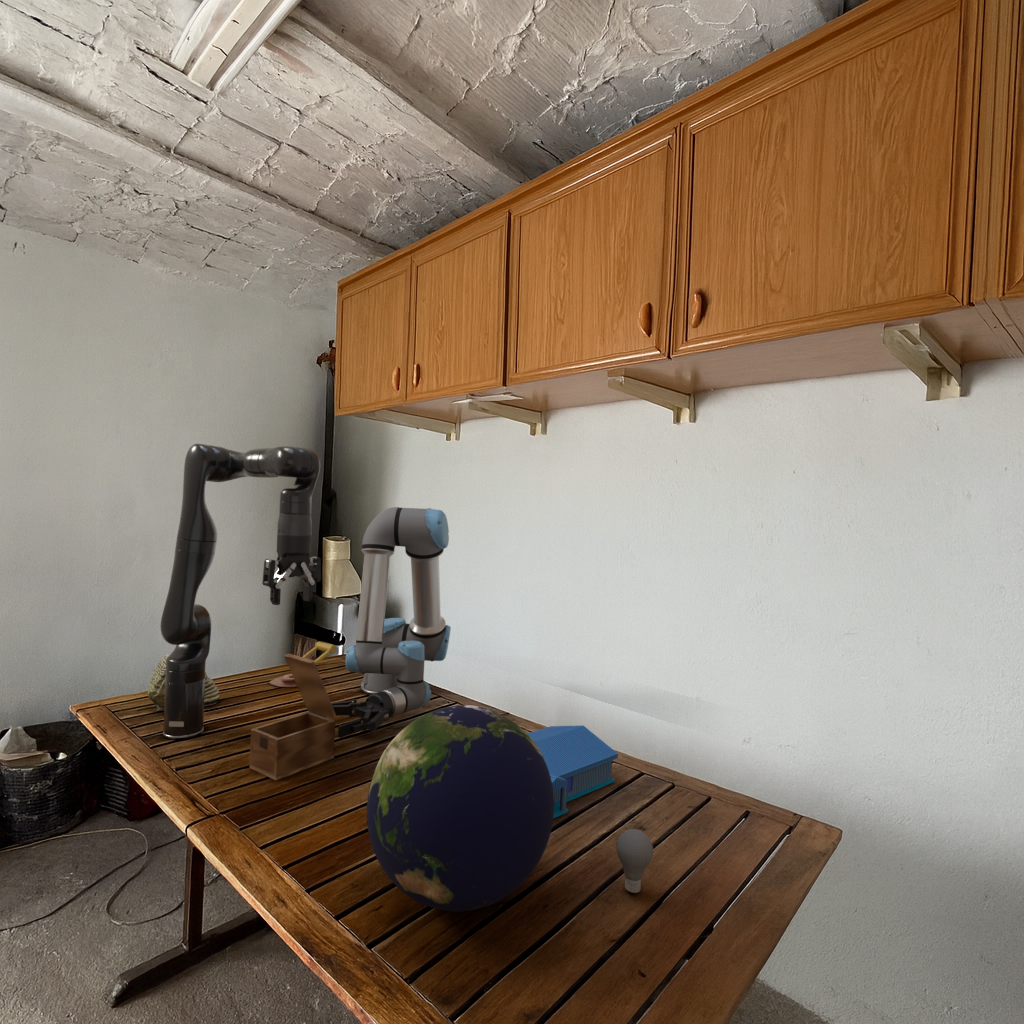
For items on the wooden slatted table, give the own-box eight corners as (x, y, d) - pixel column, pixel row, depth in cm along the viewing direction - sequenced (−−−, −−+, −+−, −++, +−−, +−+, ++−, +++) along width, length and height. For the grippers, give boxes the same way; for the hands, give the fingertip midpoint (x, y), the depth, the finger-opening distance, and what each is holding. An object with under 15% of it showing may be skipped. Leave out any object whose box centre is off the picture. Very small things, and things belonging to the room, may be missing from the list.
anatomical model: (264, 673, 208) (283, 664, 219) (264, 685, 208) (283, 676, 219) (301, 677, 205) (319, 668, 216) (301, 689, 205) (318, 679, 216)
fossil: (144, 707, 182) (145, 655, 182) (212, 696, 194) (213, 647, 194) (151, 716, 175) (153, 662, 175) (221, 703, 188) (223, 653, 188)
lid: (310, 663, 147) (339, 640, 153) (284, 655, 152) (312, 634, 159) (333, 719, 153) (360, 695, 160) (307, 710, 159) (333, 687, 165)
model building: (497, 843, 118) (499, 790, 118) (422, 794, 136) (424, 748, 136) (626, 786, 145) (628, 743, 144) (549, 751, 163) (551, 713, 163)
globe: (322, 922, 94) (330, 722, 94) (423, 829, 122) (430, 674, 122) (507, 988, 83) (517, 762, 83) (572, 869, 111) (580, 699, 110)
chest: (276, 780, 140) (277, 739, 140) (249, 768, 146) (250, 729, 146) (334, 757, 154) (335, 720, 153) (307, 747, 159) (308, 711, 159)
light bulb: (610, 879, 108) (613, 822, 108) (644, 879, 109) (647, 822, 109) (619, 902, 102) (622, 840, 102) (655, 901, 103) (658, 840, 103)
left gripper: (277, 534, 139) (275, 608, 139) (329, 533, 151) (327, 601, 151) (257, 532, 143) (254, 604, 144) (309, 531, 155) (306, 597, 155)
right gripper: (417, 729, 166) (354, 753, 149) (353, 708, 181) (289, 728, 163) (418, 701, 166) (355, 722, 149) (354, 682, 181) (290, 699, 163)
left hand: (291, 602), depth 147 cm, fingers open, 8 cm apart
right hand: (321, 725), depth 156 cm, fingers open, 13 cm apart
